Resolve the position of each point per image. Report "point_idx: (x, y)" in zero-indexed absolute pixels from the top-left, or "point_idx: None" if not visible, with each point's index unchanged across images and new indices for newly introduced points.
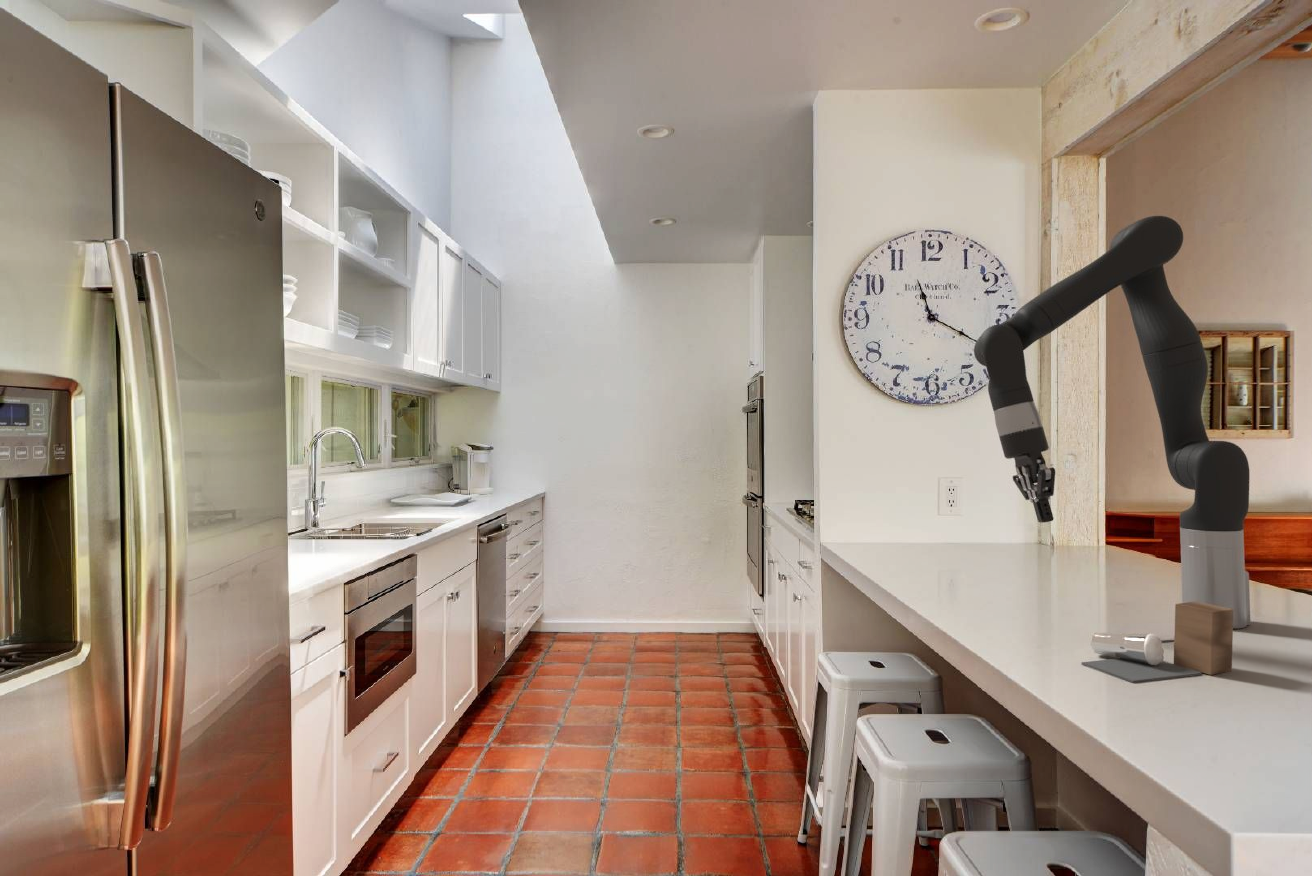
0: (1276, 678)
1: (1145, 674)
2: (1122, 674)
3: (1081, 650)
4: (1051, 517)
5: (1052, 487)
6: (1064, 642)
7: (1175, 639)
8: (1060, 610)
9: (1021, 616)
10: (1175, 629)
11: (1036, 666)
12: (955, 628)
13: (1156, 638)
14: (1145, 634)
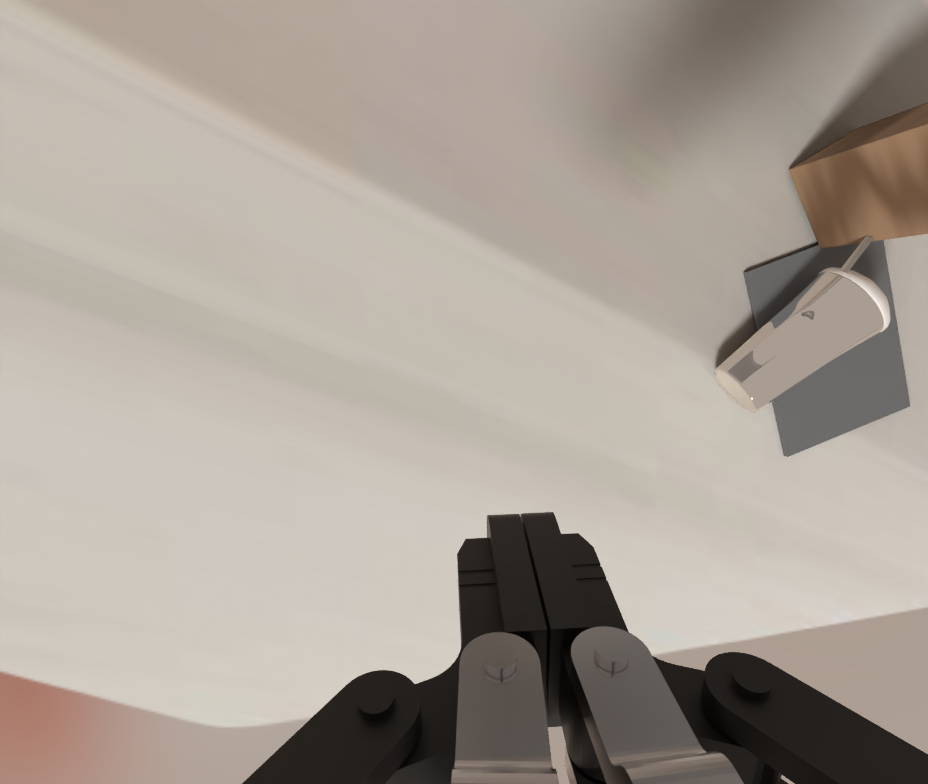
0: (913, 60)
1: (877, 357)
2: (873, 407)
3: (674, 405)
4: (577, 540)
5: (889, 752)
6: (599, 418)
7: (879, 239)
8: (150, 249)
9: (270, 430)
10: (905, 236)
11: (787, 556)
12: (446, 664)
13: (885, 295)
14: (875, 317)
